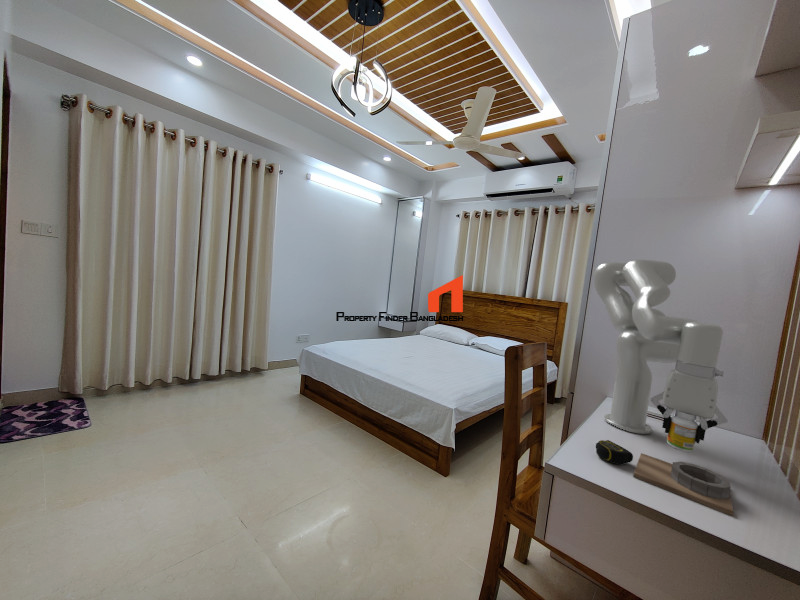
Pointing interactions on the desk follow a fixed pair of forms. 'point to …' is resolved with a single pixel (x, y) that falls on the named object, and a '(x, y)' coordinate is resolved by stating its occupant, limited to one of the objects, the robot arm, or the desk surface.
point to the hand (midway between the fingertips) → (681, 435)
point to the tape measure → (613, 452)
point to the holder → (686, 482)
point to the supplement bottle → (682, 431)
